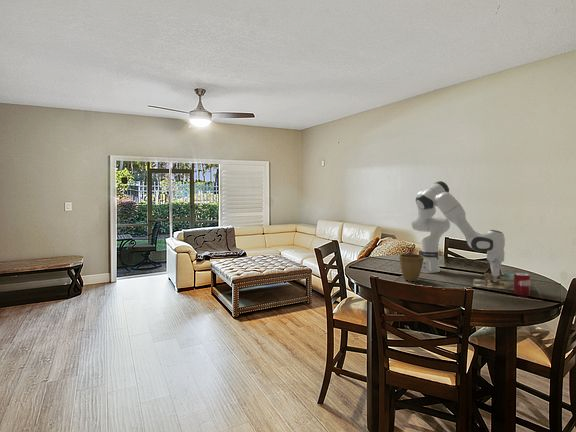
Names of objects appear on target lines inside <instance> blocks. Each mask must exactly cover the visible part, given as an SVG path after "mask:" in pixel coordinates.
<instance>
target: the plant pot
mask: <svg viewBox="0 0 576 432" xmlns="http://www.w3.org/2000/svg"><path fill="white" fill-rule="evenodd" d="M398 256H399V263H400V268H401V273H402V276H403V278H404V280H405V281H406V280H408V281H407V282H412V281H414V282H417V281H418V279H419V276H420V274H421V272H420V271H421V268H422V264H423V259H424V256H422V255H418V254H415V253H401V254H398Z"/></svg>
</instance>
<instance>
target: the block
mask: <svg viewBox="0 0 576 432" xmlns="http://www.w3.org/2000/svg"><path fill="white" fill-rule="evenodd" d="M500 277H501V276H497V279H500ZM489 278H492V279H493V276H492V273H490V275H489ZM489 281H490V283H496V284H499V282H500V281H497V282H494V281H493V280H489Z"/></svg>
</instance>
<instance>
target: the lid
mask: <svg viewBox="0 0 576 432" xmlns="http://www.w3.org/2000/svg"><path fill="white" fill-rule="evenodd" d="M504 272H505V273H504V274H503V275H505V276H504V277H505V280H511V281H514V274H515V273H510V272H509V271H508V270H505V271H504Z"/></svg>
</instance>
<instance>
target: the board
mask: <svg viewBox="0 0 576 432" xmlns="http://www.w3.org/2000/svg"><path fill="white" fill-rule="evenodd" d="M490 274H491V273H487V272H486V273H485V274H484V279H478V278H473V283H472V286H473V287H483V288H489V289H490V288H491V289H502V290H508V291H509V290H511V291H514V281H511V280H506V279H500V278H499V279H492V278H490V277H488V276H490ZM499 276H500V277H505V275H504V274H501V273H500V275H499ZM490 280H495V281H499V284H496V283H490Z"/></svg>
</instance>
